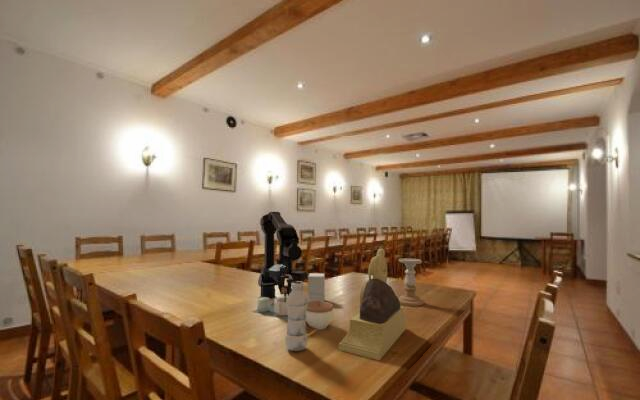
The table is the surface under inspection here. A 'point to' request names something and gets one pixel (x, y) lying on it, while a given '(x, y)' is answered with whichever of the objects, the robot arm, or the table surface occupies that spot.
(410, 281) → the candle holder
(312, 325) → the lidded jar
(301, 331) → the plastic bottle
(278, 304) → the octagonal white frame
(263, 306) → the sage green dome
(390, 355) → the table surface
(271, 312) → the slate tray
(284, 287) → the coffee tamper
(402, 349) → the table surface
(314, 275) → the supplement box
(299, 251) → the robot arm
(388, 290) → the statue with dark rock
